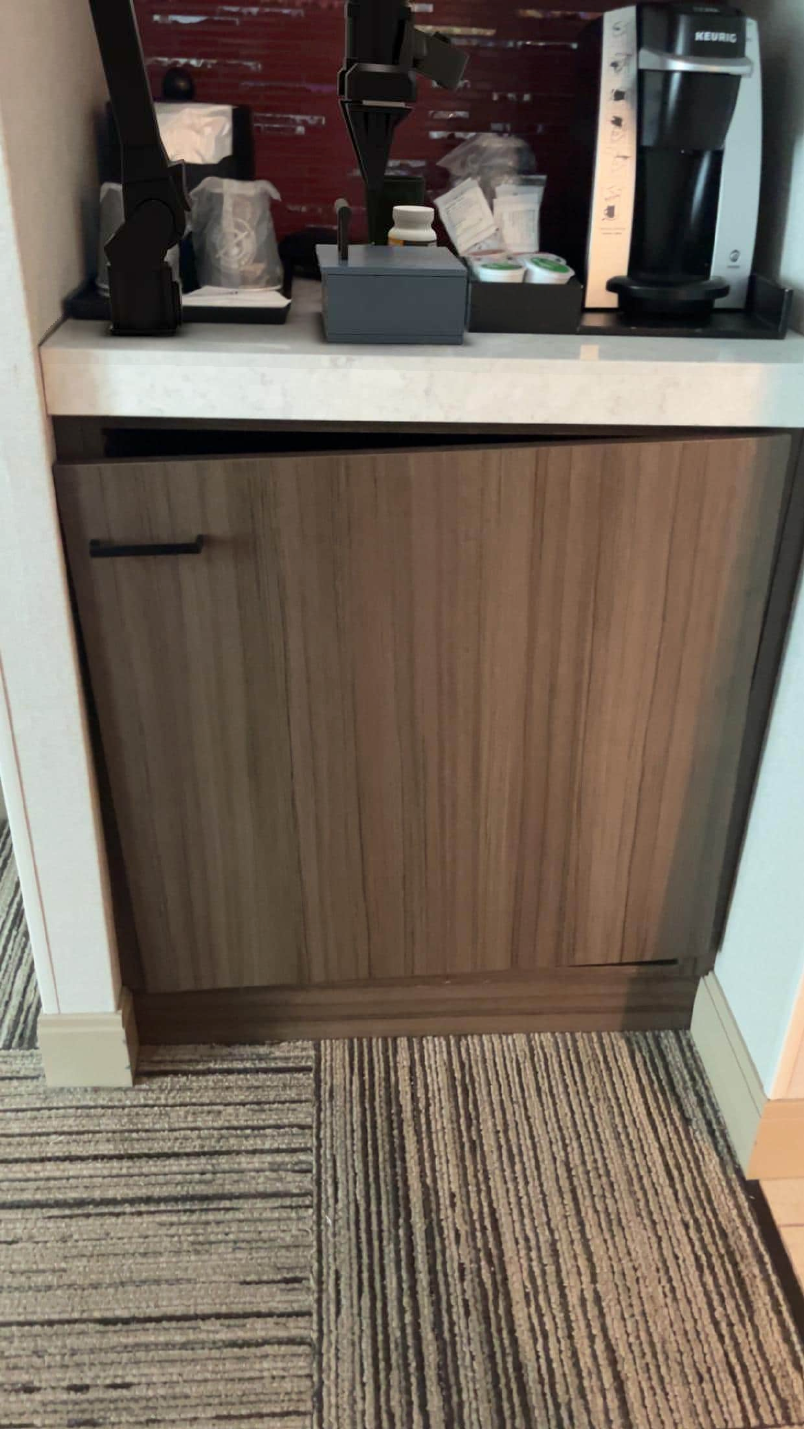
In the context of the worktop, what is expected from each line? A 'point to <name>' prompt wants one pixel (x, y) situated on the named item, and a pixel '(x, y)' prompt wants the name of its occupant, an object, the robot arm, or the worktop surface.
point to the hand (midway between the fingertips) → (371, 185)
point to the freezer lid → (383, 256)
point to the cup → (390, 204)
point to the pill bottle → (412, 227)
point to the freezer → (393, 308)
